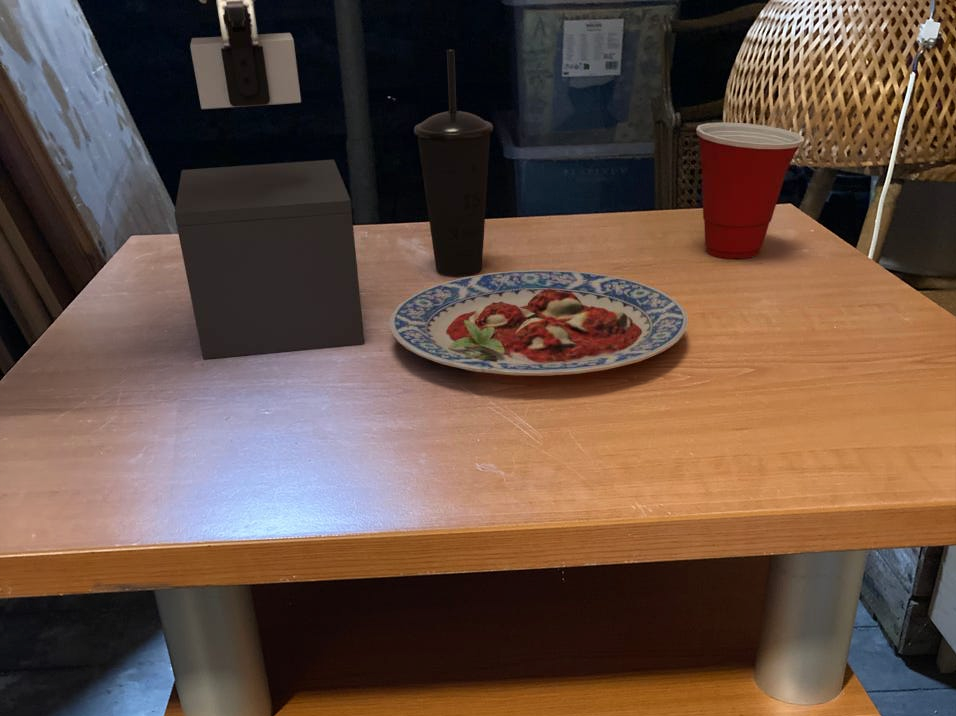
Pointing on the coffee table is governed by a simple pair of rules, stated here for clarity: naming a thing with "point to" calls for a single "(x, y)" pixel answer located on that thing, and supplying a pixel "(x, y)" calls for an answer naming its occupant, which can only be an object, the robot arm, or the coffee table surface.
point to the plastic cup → (742, 183)
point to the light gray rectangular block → (276, 62)
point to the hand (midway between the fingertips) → (249, 96)
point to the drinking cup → (455, 183)
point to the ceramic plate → (539, 322)
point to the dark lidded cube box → (269, 258)
